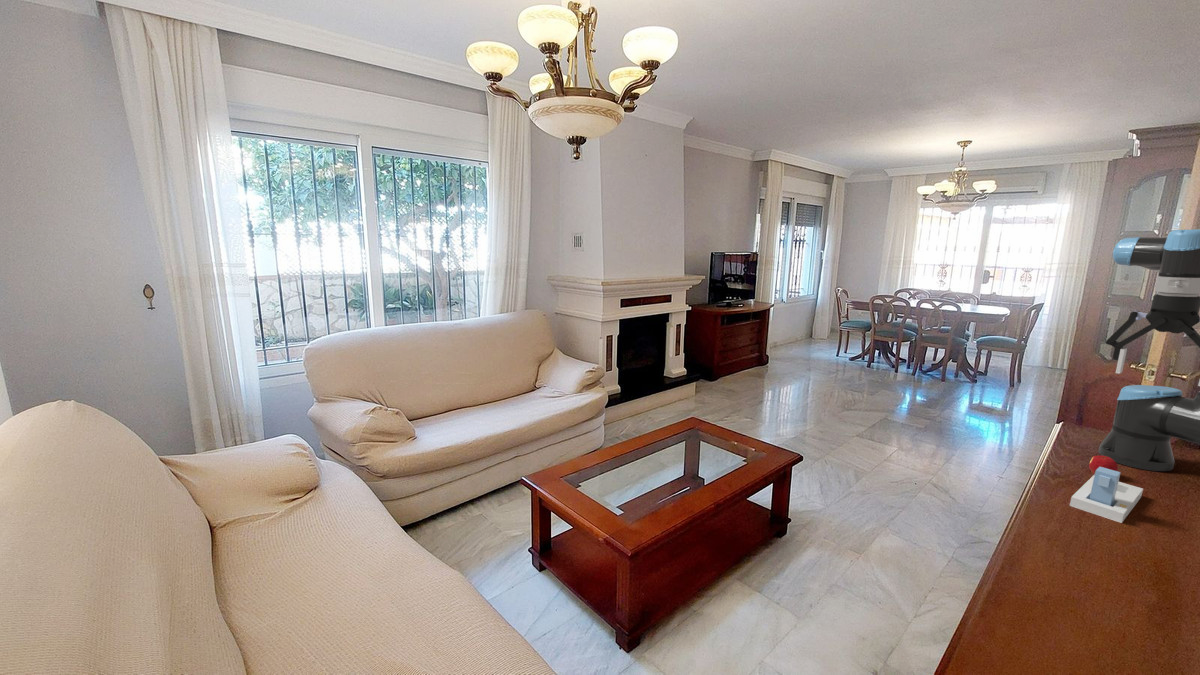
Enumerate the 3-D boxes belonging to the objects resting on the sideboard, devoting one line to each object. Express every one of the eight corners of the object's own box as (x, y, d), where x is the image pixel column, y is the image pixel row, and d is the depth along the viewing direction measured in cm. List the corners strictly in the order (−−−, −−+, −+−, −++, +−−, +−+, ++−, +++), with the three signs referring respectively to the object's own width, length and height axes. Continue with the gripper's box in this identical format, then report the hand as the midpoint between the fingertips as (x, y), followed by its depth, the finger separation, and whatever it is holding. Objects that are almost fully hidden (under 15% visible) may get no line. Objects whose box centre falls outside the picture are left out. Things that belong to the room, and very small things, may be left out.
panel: (1091, 484, 129) (1094, 473, 129) (1140, 499, 122) (1143, 487, 121) (1069, 507, 119) (1071, 496, 118) (1121, 525, 111) (1123, 513, 111)
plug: (1091, 502, 120) (1099, 466, 118) (1112, 509, 117) (1120, 472, 115) (1086, 508, 117) (1094, 471, 115) (1107, 514, 114) (1116, 477, 112)
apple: (1096, 483, 130) (1101, 461, 129) (1073, 469, 138) (1077, 449, 136) (1130, 485, 129) (1135, 463, 127) (1104, 471, 136) (1109, 450, 135)
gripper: (1100, 291, 122) (1084, 370, 126) (1264, 300, 101) (1238, 394, 106) (1108, 289, 126) (1092, 365, 130) (1267, 298, 105) (1242, 388, 110)
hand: (1158, 378), depth 118 cm, fingers open, 13 cm apart
